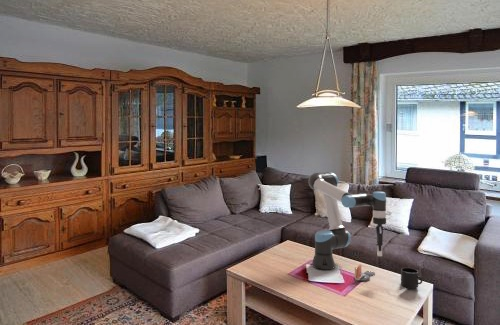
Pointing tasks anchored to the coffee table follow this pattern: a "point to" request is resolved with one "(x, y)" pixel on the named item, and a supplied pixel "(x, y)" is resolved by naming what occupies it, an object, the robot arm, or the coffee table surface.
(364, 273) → the pad
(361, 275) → the crank
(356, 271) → the crank base
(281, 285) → the coffee table surface
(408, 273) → the mug
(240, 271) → the coffee table surface
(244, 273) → the coffee table surface
